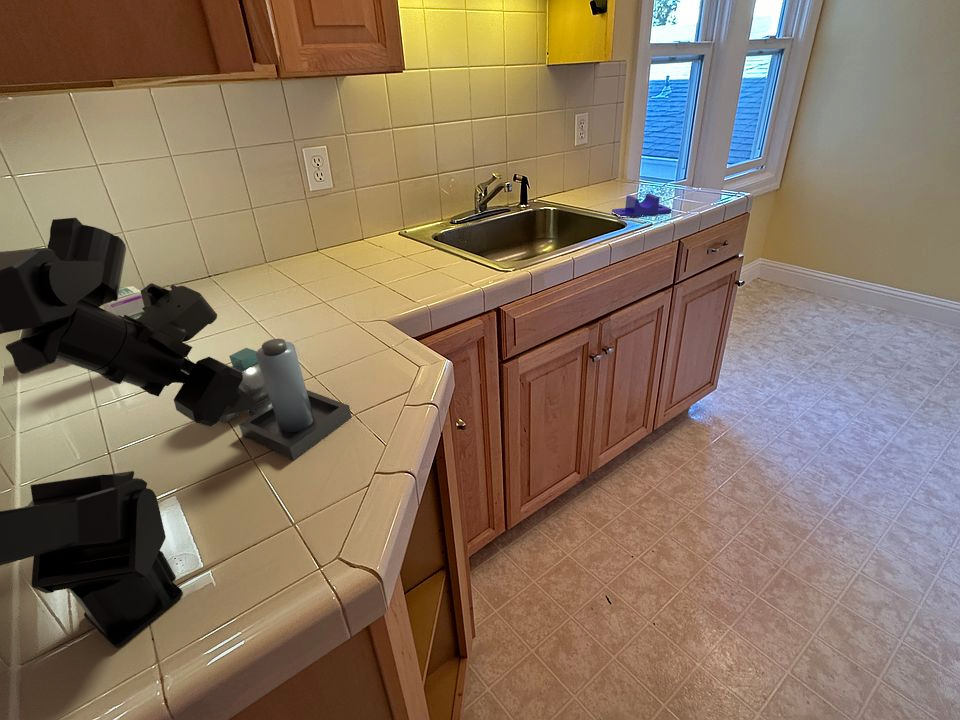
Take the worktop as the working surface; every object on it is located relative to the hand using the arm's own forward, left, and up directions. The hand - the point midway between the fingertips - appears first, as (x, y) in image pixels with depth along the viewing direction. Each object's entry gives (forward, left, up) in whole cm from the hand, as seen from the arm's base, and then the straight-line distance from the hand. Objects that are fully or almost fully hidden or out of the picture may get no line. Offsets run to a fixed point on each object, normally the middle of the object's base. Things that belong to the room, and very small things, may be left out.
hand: (230, 391), depth 61 cm
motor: (+8, +6, -12) cm, 16 cm away
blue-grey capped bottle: (+8, +1, -11) cm, 14 cm away
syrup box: (+8, +42, -12) cm, 45 cm away
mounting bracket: (+148, -8, -12) cm, 149 cm away
